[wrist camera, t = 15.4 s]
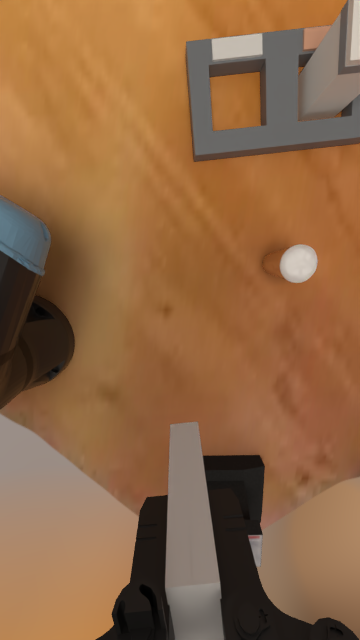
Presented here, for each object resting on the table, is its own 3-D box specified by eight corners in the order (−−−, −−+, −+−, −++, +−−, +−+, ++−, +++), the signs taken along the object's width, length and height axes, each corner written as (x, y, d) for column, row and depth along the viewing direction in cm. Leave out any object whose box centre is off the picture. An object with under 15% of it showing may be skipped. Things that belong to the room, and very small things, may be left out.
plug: (296, 121, 32) (349, 61, 22) (297, 76, 31) (353, -9, 21) (334, 117, 32) (403, 55, 22) (336, 72, 31) (410, -16, 21)
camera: (293, 524, 32) (285, 613, 34) (257, 451, 46) (253, 516, 49) (177, 526, 32) (177, 615, 34) (177, 451, 46) (177, 517, 48)
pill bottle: (255, 245, 36) (285, 240, 26) (289, 249, 36) (331, 245, 26) (250, 276, 37) (276, 281, 27) (283, 279, 37) (321, 286, 27)
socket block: (193, 161, 33) (195, 154, 31) (185, 55, 30) (186, 39, 28) (357, 143, 33) (371, 134, 30) (365, 35, 30) (380, 17, 28)
